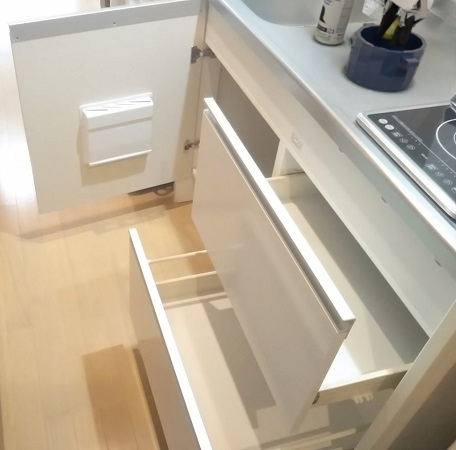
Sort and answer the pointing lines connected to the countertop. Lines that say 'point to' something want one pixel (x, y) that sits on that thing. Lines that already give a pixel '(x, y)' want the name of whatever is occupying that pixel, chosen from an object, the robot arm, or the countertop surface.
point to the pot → (383, 60)
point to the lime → (391, 30)
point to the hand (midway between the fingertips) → (391, 38)
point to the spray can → (333, 21)
